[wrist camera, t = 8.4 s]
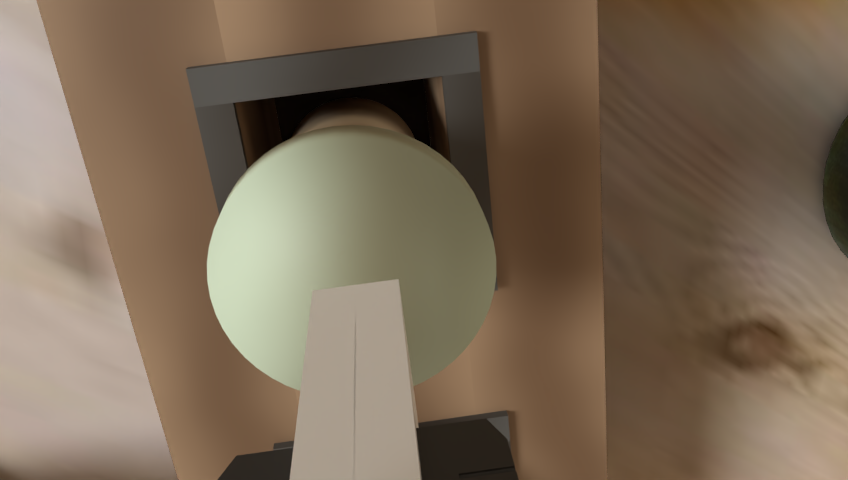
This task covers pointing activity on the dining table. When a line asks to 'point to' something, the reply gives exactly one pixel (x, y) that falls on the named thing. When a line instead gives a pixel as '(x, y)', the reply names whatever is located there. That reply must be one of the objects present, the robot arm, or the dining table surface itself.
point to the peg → (350, 239)
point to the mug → (837, 188)
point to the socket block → (260, 132)
